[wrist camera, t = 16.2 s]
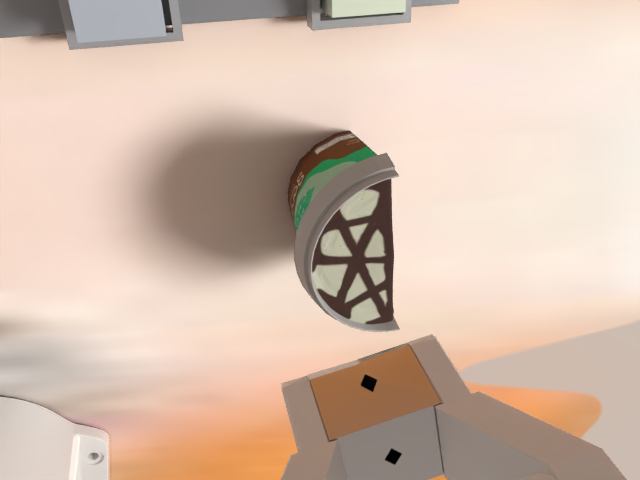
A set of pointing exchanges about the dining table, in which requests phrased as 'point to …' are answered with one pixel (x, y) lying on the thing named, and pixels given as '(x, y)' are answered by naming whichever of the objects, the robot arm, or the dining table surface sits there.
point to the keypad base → (185, 17)
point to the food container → (345, 231)
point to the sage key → (362, 7)
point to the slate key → (117, 19)
